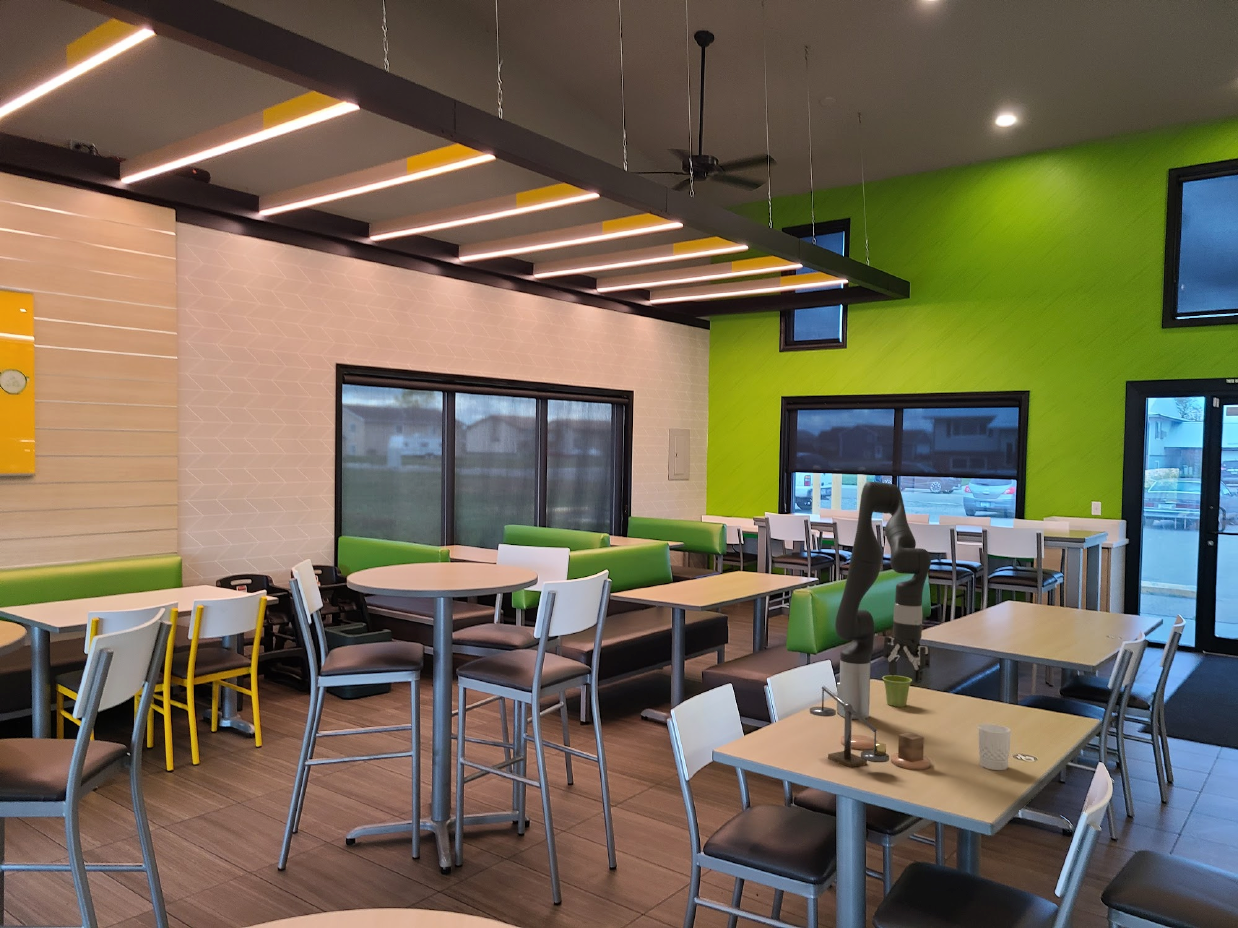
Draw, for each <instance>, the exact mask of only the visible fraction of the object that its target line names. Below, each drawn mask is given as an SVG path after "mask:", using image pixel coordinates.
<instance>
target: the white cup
mask: <svg viewBox="0 0 1238 928" xmlns="http://www.w3.org/2000/svg"><path fill="white" fill-rule="evenodd" d="M977 729H978V730H977V731H978V754H979V764H980V766H981V767H982V768H983V769H987V770H992V771H1005V770H1007V769H1008V767H1009V758H1010V749H1011V748H1010V747H1011V735H1012V733H1011V732H1012V730H1011V729H1010V728H1009V727H1007V726H1003V725H999V724H992V723H983V724H980V725H978V726H977Z"/></svg>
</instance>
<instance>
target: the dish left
mask: <svg viewBox="0 0 1238 928" xmlns="http://www.w3.org/2000/svg"><path fill="white" fill-rule="evenodd" d="M840 743H841V746H844V735H843V736H841V738H840ZM876 743H879V742H878V740H877V739H876ZM858 749H860V750H861V751H868V750H870V749H872V750H874V737H871V736H867V735H863V734H862V735H861V734H851V750H858ZM860 750H859V751H860Z"/></svg>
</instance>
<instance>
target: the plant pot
mask: <svg viewBox="0 0 1238 928" xmlns="http://www.w3.org/2000/svg"><path fill="white" fill-rule="evenodd" d="M881 678H882V680H883V683H884V689H885V695H886V696H885V698H886V703H887V705H888V706H894V707H896V706H897V707H898V708H903V707H902V706H904V707H905V706H907V703H908V697H909V690H910V686H911V683H912V682H913V679H912V678H910V677H907V676H903V675H894V676H892V675H890V674H889V675H883V676H882V677H881ZM897 707H896V708H897Z"/></svg>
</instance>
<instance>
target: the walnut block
mask: <svg viewBox="0 0 1238 928" xmlns="http://www.w3.org/2000/svg"><path fill="white" fill-rule="evenodd" d="M897 739H898V740H897V741H898V746H897V747H898V750H897V753H898V758H901V759H904V760H906V761H909V762H916V761H921V760H923V756H925V754H924V753H925V752H924V751H925V750H924V749H925V747H924V746H925V745H924V744H925V737H924V736H923V735H922V736H921V735H919V734H916V733H912V732H907V733H902V734H900V733H899V734H898V738H897Z"/></svg>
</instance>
